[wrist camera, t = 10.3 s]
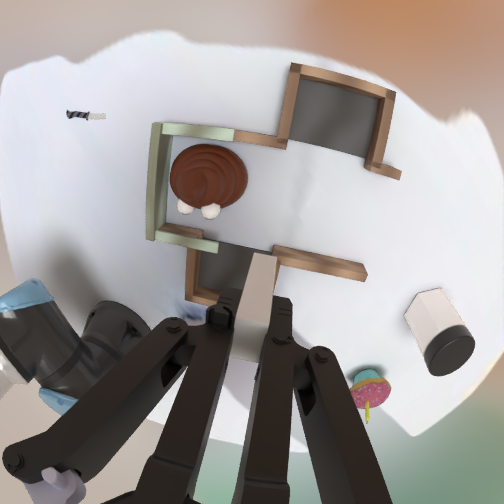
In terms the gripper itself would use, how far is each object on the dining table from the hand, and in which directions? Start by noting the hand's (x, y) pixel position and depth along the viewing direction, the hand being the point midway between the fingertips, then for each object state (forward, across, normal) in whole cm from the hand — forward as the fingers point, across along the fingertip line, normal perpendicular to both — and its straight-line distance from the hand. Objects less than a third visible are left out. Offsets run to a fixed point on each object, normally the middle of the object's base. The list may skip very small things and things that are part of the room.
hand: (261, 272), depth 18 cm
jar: (+19, -29, +12) cm, 36 cm away
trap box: (+18, +1, 0) cm, 18 cm away
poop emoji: (+19, +9, -2) cm, 21 cm away
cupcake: (+19, -25, +30) cm, 43 cm away
